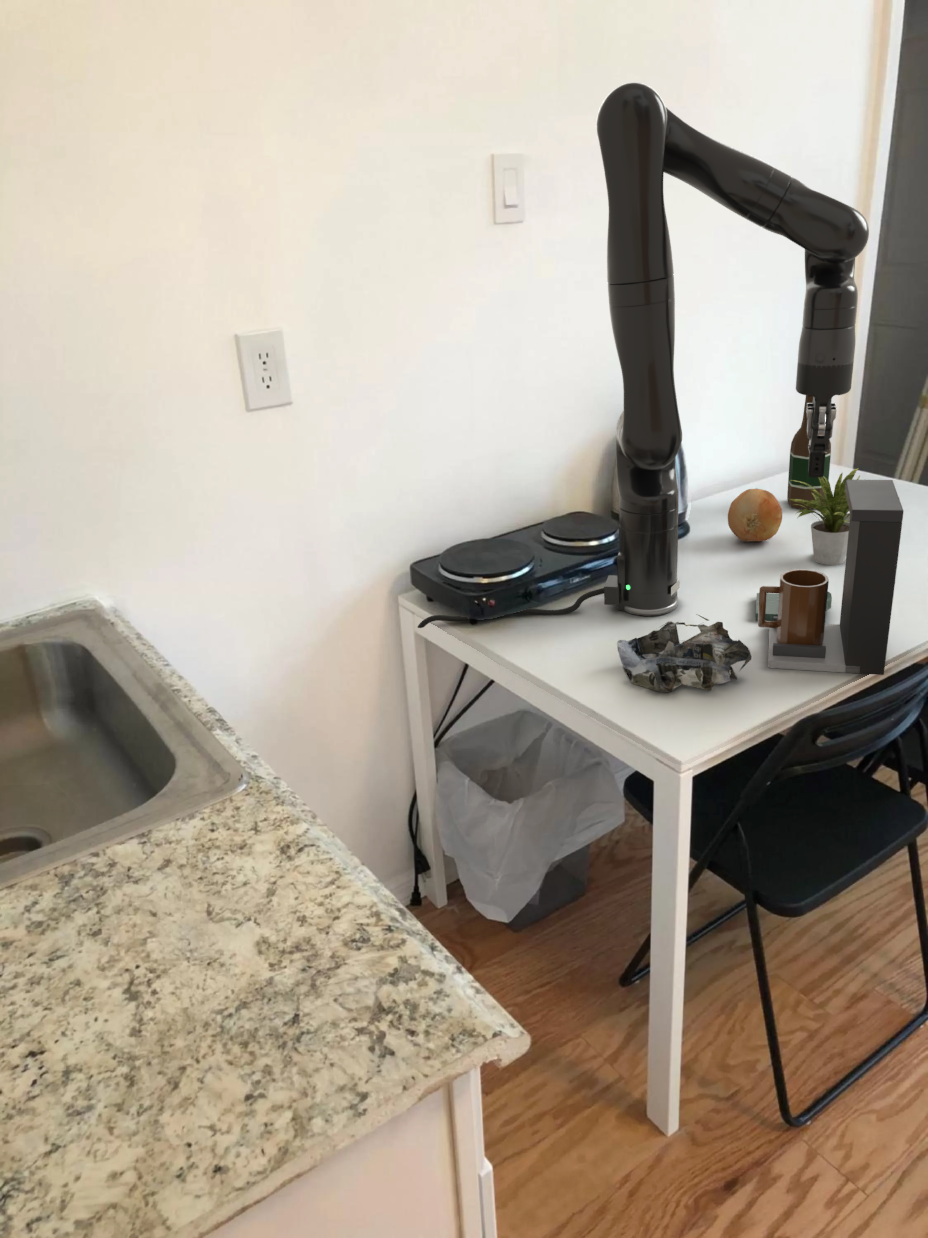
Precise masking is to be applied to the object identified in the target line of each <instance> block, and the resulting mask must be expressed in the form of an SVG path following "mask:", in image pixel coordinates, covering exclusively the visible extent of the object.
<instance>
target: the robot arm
mask: <svg viewBox="0 0 928 1238" xmlns="http://www.w3.org/2000/svg"><path fill="white" fill-rule="evenodd" d="M595 131H596V137H597V140H598V145H599V149H600V155H601V159H602V160H601V161H602V166H603V171H604V178H605V179H604V180H605V184H606V192H607V205H608V218H607V219H608V220H607V221H608V223H607V239H606V240H607V241H606V279H607V280H606V282H607V294H608V307H609V317H610V323H611V330H612V335H613V341H614V344H615V349H616V354H617V357H618V361H619V366H620V370H621V376H622V389H623V390H622V391H623V410H622V412H620V415H619V416H618V419H617V422H616V426H615V463H616V464H615V466H616V467H615V468H616V486H617V494H618V496H617V497H618V498H617V499H618V553H617V556H616V574H617V575H614V574H613V575H610V574H609V575H608V576H607V578H606V581H605V583H604V585H603V587H602V588H598V589H594V590H591V591H588V592H586V593H584V594H582V595H580V596H579V597H578V598H577V599H576V601H575V602H574V603H573V604H572V605H569V606H568V607H564V608H560V609H542V608H531V607H530V608H529V607H528V608H529V609H526V610H523V611H520V612H516V613H513V614H510V615H509V616H511V615H537V616H538V615H539V616H557V615H558V616H559V615H566V614H570V613H572V612H575V611H576V610H578V609H579V608H580V607H581V605H582V604H583V602H584V601H586V600H588V599H590V598H593V597H597V596H599V595H603V601H604V602H603V603H604V605H607V606H617V611H621V612H622V611H623V612H626V613H628V614H631V615H637V616H643V617H645V616H646V617H647V616H649V617H651V616H660V615H665V614H668V613H670V612H673V611H674V610H675V609H676V608H677V607H678V600H679V599H678V590H679V589H680V588H681V583H680V582H681V579H678V561H679V560H678V559H679V558H678V557H679V555H678V554H679V553H678V552H679V548H678V547H679V485H678V477H677V470H676V467H677V465H676V457H677V456H678V454H679V452H680V449H681V447H682V443H683V429H682V423H681V418H680V413H679V407H678V406H679V405H678V400H677V392H676V384H675V382H676V381H675V372H674V370H675V368H674V367H675V366H674V365H675V364H674V363H675V341H676V339H675V338H676V335H675V334H676V333H675V332H676V314H675V313H676V295H675V294H676V293H675V275H674V274H675V273H674V272H675V271H674V261H673V260H674V259H673V252H672V244H671V237H670V229H669V225H668V219H667V218H668V217H667V214H666V213H667V212H666V207H665V197H664V195H665V194H664V174H667V175H669V176H671V177H674V178H676V179H677V180H679V181H682V182H684V183H686V185H687V184H688V185H689V186H691V187H693V188H694V189H695V190H698V191H699V192H700V193H702V194H704V195H706V196H707V197H709V198H710V199H712V200H713V201H714V202H716V203H718V204H719V205H721V206H723V207H724V208H726V209H728V210H729V211H731V212H733V213H734V214H735V215H738V216H740V217H741V218H743V219H745V220H747V221H749V222H751V223H753V224H755V225H756V226H758V227H760V228H762V229H763V230H766V231H768V232H769V233H773V234H776V235H780V236H782V237H784V238H786V239H787V240H789V241H791V242H793V243H794V244H795V245H797V246H799V247H801V248H802V249H804V276H805V277H804V279H805V292H804V293H805V294H804V300H803V310H802V321H801V325H802V327H801V332H800V335H799V336H800V337H799V341H798V350H797V351H798V352H797V365H796V378H795V390H796V392H797V393H798V394H800V395H803V396H806V395H807V396H809V395H812V396H813V403H807V411H806V412H807V419H808V421H807V437H808V440H809V444H808V451H809V464H808V476H809V477H815V478H821V477H823V475H824V466H825V455H826V453H827V452H828V450H829V439H830V440H831V438H832V437H833V432H834V431H833V429H834V421H835V420H836V417H837V405H836V404H837V403H836V402H832V399H833V397H834V396H843V395H845V394H847V393H849V392H851V389H852V383H853V373H854V363H855V351H856V323H857V313H858V301H859V299H858V298H859V290H858V285H857V284H856V281H855V269H856V258H857V257H858V256H860V254H861V253H862V252H863V251H864V249H865V248H866V246H867V244H868V241H869V236H870V229H869V224H868V221H867V219H866V218H865V216H864V215H863V213H861V212H860V211H859V210H858V209H856V208H854V207H852V206H850V205H848V204H846V203H844V202H842V201H840V200H837V199H835V198H833V197H831V196H829V195H827V194H824V193H821V192H820V191H817V190H815V189H812V188H810V187H809V186H807V185H806V184H805V183H803V182H801V181H800V180H798V179H797V178H796V177H794V176H792V175H791V174H788V173H787V172H785V171H783V170H781V169H779V168H777V167H776V166H773V165H772V164H770V163H768V162H766V161H764V160H762V159H760V158H758V157H755V156H754V155H751V154H749V153H747V152H744V151H743V150H739V149H737V148H735V147H732V146H730V145H728V144H725V143H723V142H720V141H718V140H716V139H714V138H712V137H710V136H708V135H706V134H704V133H703V132H701V131H699V130H698V129H696V128H694V127H693V126H691V125H690V124H689V123H688V122H685V121H684V120H683V119H682V118H680V116H678V115H676V114H675V113H674V112H673V111H672V110H671V109H669V108H668V107H667V106H666V105H665V102H664V100H663V98H662V97H661V95H660V94H659V93H658V91H656V90H655V89H654V88H653V87H652V86H649V85H648V84H646V83H642V82H636V81H629V82H625V83H623V84H620V85H619V86H617V87H615V88H614V89H612V90H611V91H610V92H609V93H608V94H607V95H606V97H605V98H604V99H603V101H602V103H601V104H600V106H599V108H598V112H597V115H596V120H595ZM461 616H462V615H447V614H434V615H431V616H428V617H425V619H423V620H422V621H421V622H420V623H419V624H418V625H417V628H418V629H423V628H425V627H426V626H427V625H428V624H430V623H432V622H433V623H434V622H439V621H443V622H465V621H466V622H467V621H471V620H470V619H468V618H467V617H461Z"/></svg>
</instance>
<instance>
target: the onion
mask: <svg viewBox="0 0 928 1238" xmlns="http://www.w3.org/2000/svg"><path fill="white" fill-rule="evenodd" d="M782 522H783V510H782V505H781V504H780V502H779V501H778V499H777V497H776V496H775V495H774V494H773V493H772V492H770V491H768V490H766V489H762V488H748V489H746V490H744V491H742V492H741V493H740V494H739V495H737V496H736V497H735V498H733V500H732V502H731V503H730V506H729V509H728V511H727V525H728V527H729V529H730V531H731V532H732V533H733V535H734V536H735V537H736V538H738V539H739V540H740V541H741V542H767V541H769V540H770V539H772V538H773V537H774V536H775V535H776V534H777V533H778V532H779V529H780V527H781V524H782Z"/></svg>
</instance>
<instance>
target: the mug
mask: <svg viewBox="0 0 928 1238" xmlns="http://www.w3.org/2000/svg"><path fill="white" fill-rule="evenodd" d="M828 592H829V576H828V575H827V574H825V573H823V572H821V571H817V570H812V569H805V568H801V569H799V568H797V569H790V570H787V571H784V572H782V573H781V574H780V575H779V586H778V585H777V586H773V585H761V586H760V587H759V591H758V593H759V609H758V620H757V627H759V628H761V629H762V628H764V629H769V628H777V633H776V641H777V643H781V644H800V645H818V646H822V644H823V639H824V628H825V624H826V617H827V616H826V615H827V611H826V605H827V594H828ZM767 593H769V594H779V602H778V617H777V621H765V613H766V596H767Z"/></svg>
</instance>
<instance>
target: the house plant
mask: <svg viewBox="0 0 928 1238" xmlns="http://www.w3.org/2000/svg"><path fill="white" fill-rule="evenodd" d="M858 470H859V467H856V468H854V469H852V470H851V471H850V472H849V473H848V474H847V475H846V476H845V477H844V479H843V472H841V473H840V474H839V477H838V479H837V481H836V483H835V485H834V490H833V491H832V487H831V483H830V480H829V481H828V479H827V478H825V477H824V476H823V477H824V478H825V480H826V482H825V481H824V479H823V477H821V478H819V480H820V484H821V487H822V490H823V492H824V495H825V498H826V499H825V498H824V497H823V496H822V495H821V494H820V493H819V492H818V491H817V490H816V489H815V488H813V487H812V486H811V485H809V484H807V483H805V482H801V481H796V482H800V483H804V484H806V485H808V486H810V487H811V488H813V489H814V490H813V491H814V493H815V494H816V495H817V496H818V497H819V498H820V500H821V501H822V503H823V505H824V506H823V505H822V504H821V503H820V500H819V498H818V497H817V496H816V495H815V494H814V493H812V494H813V496H814V498H815V500H816V501H815V500H812V501H807V500H801V499H790V500H792V501H795V502H799V503H802V504H804V505H806V506H808V507H810V508H813V509H807V508H806V507H805V506H803V507H805V508H806V509H799V510H798V511H797V512H796V514H798V516H797V518H800V517H802V516H806V515H809V514H812V515H813V516H815V517H816V515H817V516H819V518H820V519H819V520H816V521H814V522H812V523H811V524H810V532H811V533H810V534H811V541H812V542H811V544H812V552H813V560H814V562H816V563H818V564H821V565H827V566H836V565H841V564H843V563H845V562H846V553H847V543H848V533H849V522H847V521H849V520H845V519H846V518H847V517H848V516H849V515H850V514H848V513H849V507H848V502H847V498H846V493H845V484H846V480H854V477H855V476H856V473H857V471H858ZM860 477H861V475H858V477H857V478H856V480H860ZM791 481H795V480H791ZM800 486H802V485H800ZM804 487H806V486H804ZM808 489H809V488H808ZM811 490H812V489H811ZM794 505H798V504H794ZM800 506H802V505H800ZM816 511H818V512H816ZM815 514H816V515H815ZM846 514H848V515H847V517H846V518H845V519H844V517H845V516H846ZM843 519H844V520H845V521H844V520H843Z"/></svg>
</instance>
